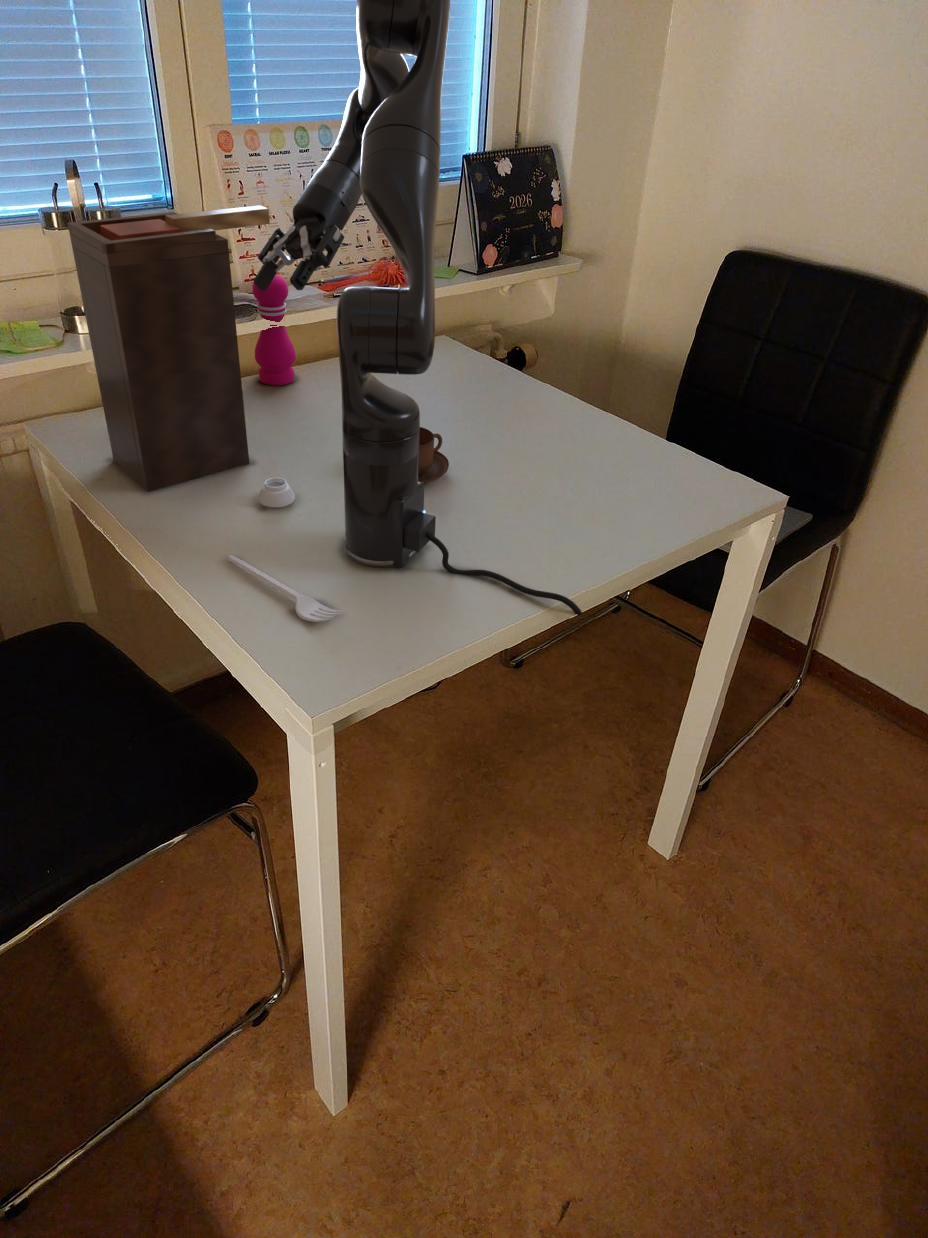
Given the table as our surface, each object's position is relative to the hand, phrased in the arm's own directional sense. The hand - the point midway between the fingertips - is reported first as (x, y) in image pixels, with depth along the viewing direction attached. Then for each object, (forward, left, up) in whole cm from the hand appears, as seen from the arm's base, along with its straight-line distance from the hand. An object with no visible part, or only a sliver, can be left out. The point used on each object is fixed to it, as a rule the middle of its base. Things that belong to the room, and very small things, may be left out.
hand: (276, 286), depth 131 cm
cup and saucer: (-24, +3, -23) cm, 33 cm away
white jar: (-12, +20, -23) cm, 33 cm away
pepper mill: (+14, -18, -23) cm, 33 cm away
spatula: (+5, +11, +9) cm, 15 cm away
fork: (-25, +39, -23) cm, 52 cm away
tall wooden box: (+7, +17, -23) cm, 29 cm away
